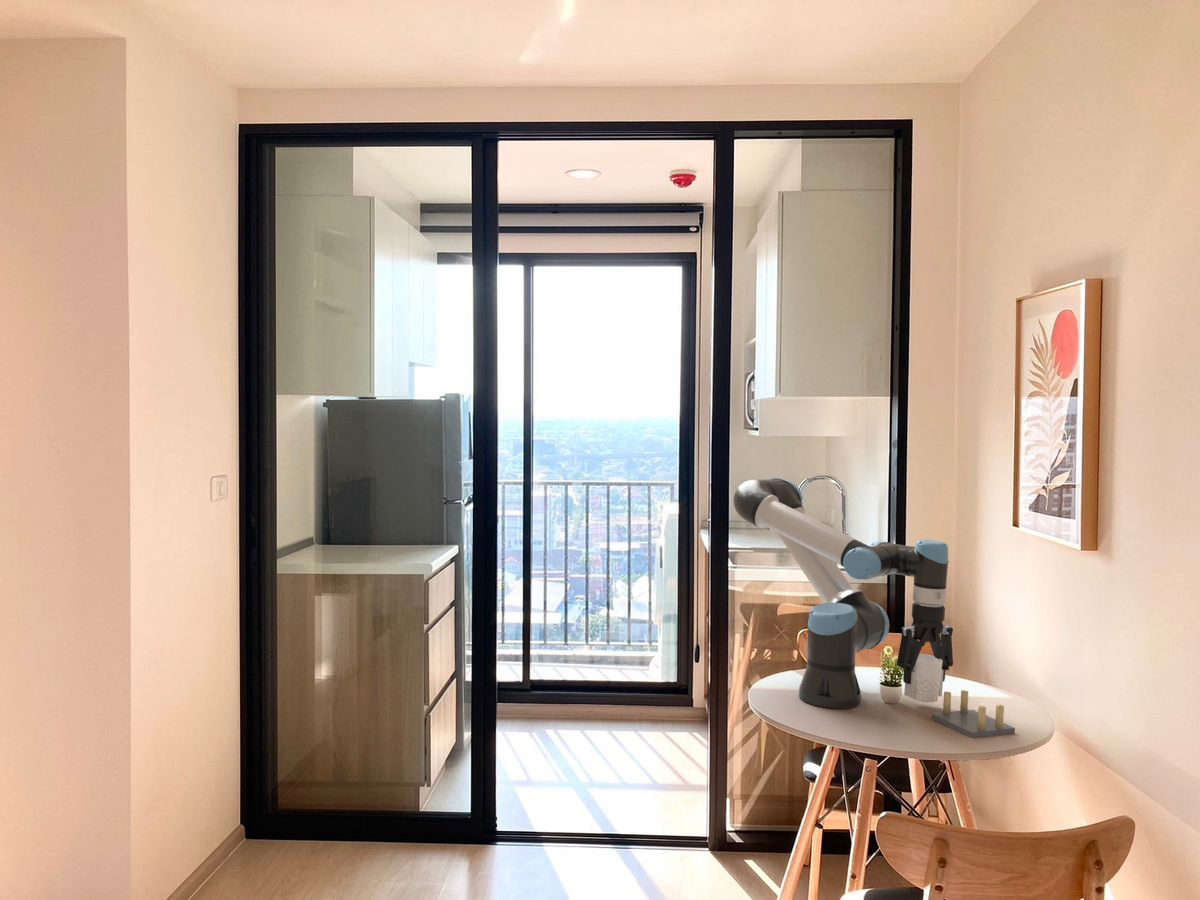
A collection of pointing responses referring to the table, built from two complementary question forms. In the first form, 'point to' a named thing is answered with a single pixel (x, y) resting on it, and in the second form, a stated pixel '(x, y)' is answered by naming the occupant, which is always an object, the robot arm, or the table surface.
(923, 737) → the table surface
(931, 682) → the white cup
